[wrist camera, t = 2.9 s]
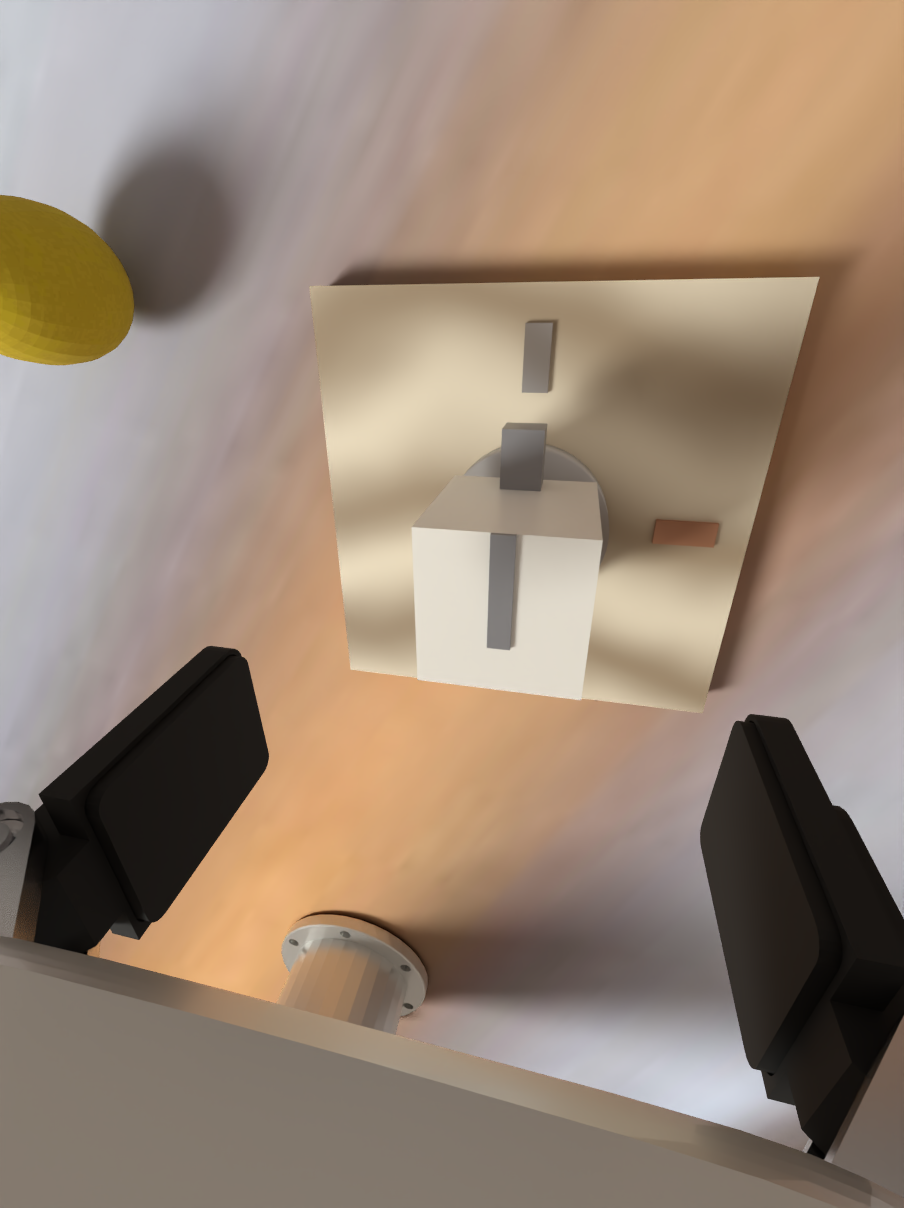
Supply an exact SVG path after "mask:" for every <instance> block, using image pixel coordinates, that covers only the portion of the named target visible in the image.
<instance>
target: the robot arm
mask: <svg viewBox="0 0 904 1208" xmlns="http://www.w3.org/2000/svg"><path fill="white" fill-rule="evenodd" d="M268 760H269V753H268V748H267V744H266V740H265V735H264V731H263V727H262V722H261V718H260V714H259V709H258V705H257V701H256V696H255V692H254V688H253V683H252V679H251V674H250V670H249V666H248V662H247V660H246V659H245V658H244V657H242V656H241V654H240V652H239V651H238V650H236V649H231V648H223V647H215V646H208V647H206V648H204V649H203V650H202V651H201V652H199V653H198V654H197V655H196V656H195V657H194V658H193V659H192V660H190V661H189V662H188V663H187V664H186V665H185V666H184V667H182V668H181V669H180V670H179V671H178V672H177V673H176V674H174V675H173V676H172V677H171V678H170V679H169V680H168V681H167V682H165V683H164V684H163V685H162V686H161V687H160V688H159V689H157V690H156V691H155V692H154V693H153V694H152V695H151V696H150V697H148V698H147V699H146V700H145V701H144V702H143V703H142V704H140V705H139V706H138V707H137V708H136V709H135V710H134V711H132V712H131V713H130V714H129V715H128V716H127V717H126V718H125V719H123V720H122V721H121V722H120V723H119V724H118V725H117V726H115V727H114V728H113V729H112V730H111V731H110V732H109V733H108V734H106V735H105V736H104V737H103V738H102V739H101V740H100V741H98V742H97V743H96V744H95V745H94V746H93V747H92V748H91V749H89V750H88V751H87V752H86V753H85V754H84V755H83V756H81V757H80V758H79V759H78V760H77V761H76V762H75V763H73V764H72V765H71V766H70V767H69V768H68V769H67V770H66V771H64V772H63V773H62V774H61V775H60V776H59V777H58V778H56V779H55V780H54V781H53V782H52V783H51V784H50V785H49V786H47V787H46V788H45V789H44V790H43V791H42V792H41V793H39V796H40V798H41V800H42V802H43V804H42V805H41V806H40V807H39V808H38V809H37V810H36V811H35V812H34V810H33V809H32V808H31V807H30V806H29V805H27V804H24V803H20V802H3V803H0V1208H904V919H903V917H902V915H901V913H900V911H899V909H898V907H897V905H896V903H895V901H894V900H893V898H892V896H891V894H890V892H889V890H888V888H887V886H886V884H885V882H884V880H883V878H882V877H881V875H880V873H879V871H878V869H877V867H876V865H875V863H874V861H873V859H872V857H871V856H870V854H869V852H868V850H867V848H866V846H865V844H864V842H863V840H862V838H861V836H860V834H859V833H858V831H857V829H856V827H855V825H854V823H853V821H852V819H851V818H850V816H849V815H848V814H847V812H846V811H845V810H844V809H842V808H841V807H840V806H833V805H832V803H831V801H830V799H829V797H828V795H827V793H826V791H825V789H824V787H823V785H822V783H821V781H820V779H819V777H818V775H817V773H816V771H815V769H814V767H813V765H812V763H811V761H810V759H809V757H808V755H807V753H806V751H805V749H804V747H803V745H802V743H801V741H800V739H799V737H798V735H797V733H796V731H795V729H794V727H793V725H792V724H791V722H790V721H789V720H788V719H786V718H778V717H771V716H763V715H755V714H750V715H748V717H747V718H746V720H745V722H743V721H736V722H735V723H734V725H733V728H732V731H731V734H730V737H729V740H728V743H727V747H726V750H725V753H724V756H723V759H722V762H721V765H720V769H719V772H718V775H717V778H716V781H715V784H714V787H713V791H712V794H711V797H710V800H709V803H708V806H707V809H706V813H705V816H704V819H703V822H702V826H701V832H700V842H701V849H702V854H703V858H704V863H705V868H706V872H707V877H708V882H709V886H710V891H711V896H712V900H713V905H714V910H715V914H716V919H717V924H718V928H719V933H720V938H721V942H722V947H723V952H724V956H725V961H726V966H727V970H728V975H729V980H730V984H731V989H732V994H733V998H734V1003H735V1008H736V1012H737V1017H738V1021H739V1026H740V1031H741V1035H742V1040H743V1045H744V1049H745V1053H746V1057H747V1060H748V1062H749V1065H750V1066H751V1067H752V1068H753V1069H756V1070H760V1071H761V1072H762V1076H763V1081H764V1085H765V1089H766V1094H767V1098H768V1099H772V1100H776V1101H779V1102H783V1103H787V1104H791V1105H795V1106H796V1110H797V1114H798V1118H799V1121H800V1125H801V1129H802V1130H803V1131H804V1132H805V1134H806V1135H807V1136H808V1137H809V1138H810V1139H809V1141H808V1142H807V1144H806V1146H805V1148H804V1150H803V1152H802V1151H799V1150H796V1149H793V1148H790V1147H787V1146H785V1145H782V1144H779V1143H776V1142H773V1141H770V1140H767V1139H764V1138H761V1137H758V1136H755V1135H752V1134H750V1133H747V1132H744V1131H741V1130H738V1129H734V1128H731V1127H727V1126H724V1125H720V1124H717V1123H713V1122H710V1121H706V1120H703V1119H700V1118H696V1117H693V1116H689V1115H686V1114H682V1113H679V1112H675V1111H672V1110H668V1109H665V1108H662V1107H658V1106H655V1105H651V1104H648V1103H644V1102H641V1101H637V1100H634V1099H630V1098H627V1097H623V1096H620V1095H617V1094H613V1093H610V1092H606V1091H602V1090H599V1089H595V1088H591V1087H587V1086H584V1085H580V1084H576V1083H573V1082H569V1081H565V1080H561V1079H558V1078H554V1077H550V1076H547V1075H543V1074H539V1073H535V1072H532V1071H528V1070H524V1069H521V1068H517V1067H513V1066H509V1065H506V1064H502V1063H498V1062H495V1061H491V1060H487V1059H483V1058H480V1057H476V1056H472V1055H469V1054H465V1053H461V1052H458V1051H454V1050H450V1049H446V1048H443V1047H439V1046H435V1045H432V1044H428V1043H424V1042H420V1041H416V1040H413V1039H409V1038H405V1037H401V1036H398V1035H395V1034H396V1030H397V1027H398V1023H399V1019H400V1016H404V1015H407V1014H409V1013H411V1012H413V1011H415V1010H416V1009H417V1008H418V1007H420V1006H421V1004H422V1002H423V1001H424V999H425V995H426V990H427V986H428V976H427V973H426V970H425V967H424V966H423V964H422V962H421V961H420V959H419V958H418V956H417V955H416V954H415V953H414V952H413V951H412V950H411V948H410V947H408V946H407V945H406V944H405V943H404V942H402V941H401V940H400V939H399V938H397V937H396V936H394V935H392V934H391V933H389V932H388V931H386V930H384V929H382V928H380V927H378V926H376V925H374V924H371V923H368V922H365V921H363V920H360V919H356V918H352V917H348V916H342V915H334V914H320V915H314V916H309V917H306V918H304V919H301V920H299V921H297V922H296V923H295V924H293V925H292V926H291V928H290V929H289V931H288V932H287V935H286V937H285V939H284V941H283V944H282V957H283V961H284V963H285V965H286V967H287V969H288V971H289V972H290V973H289V975H288V977H287V980H286V982H285V984H284V986H283V988H282V991H281V993H280V995H279V997H278V1000H277V1002H276V1003H272V1002H269V1001H265V1000H261V999H257V998H253V997H250V996H246V995H242V994H238V993H234V992H230V991H227V990H223V989H219V988H215V987H211V986H207V985H203V984H199V983H195V982H192V981H188V980H184V979H180V978H176V977H172V976H168V975H164V974H161V973H157V972H153V971H149V970H145V969H141V968H137V967H133V966H129V965H126V964H122V963H118V962H114V961H110V960H106V959H102V958H99V957H100V941H101V939H102V938H103V937H104V935H105V934H106V933H107V932H108V930H109V929H111V931H112V933H114V934H118V935H122V936H125V937H129V938H133V939H137V940H139V939H140V938H141V937H142V935H143V934H144V932H145V931H146V930H147V928H148V927H149V925H150V924H151V923H152V922H156V921H158V920H159V919H160V918H161V917H162V916H163V915H164V914H165V913H166V911H167V910H168V908H169V907H170V906H171V904H172V903H173V901H174V900H175V898H176V897H177V896H178V894H179V893H180V891H181V890H182V888H183V887H184V886H185V884H186V883H187V881H188V880H189V878H190V877H191V876H192V874H193V873H194V871H195V870H196V868H197V867H198V866H199V864H200V863H201V861H202V860H203V858H204V857H205V856H206V854H207V853H208V851H209V850H210V848H211V847H212V846H213V844H214V843H215V841H216V840H217V838H218V837H219V836H220V834H221V833H222V831H223V830H224V828H225V827H226V826H227V824H228V823H229V821H230V820H231V818H232V817H233V816H234V814H235V813H236V811H237V810H238V808H239V807H240V806H241V804H242V803H243V801H244V800H245V798H246V797H247V796H248V794H249V793H250V791H251V790H252V788H253V787H254V786H255V784H256V783H257V781H258V780H259V778H260V777H261V776H262V774H263V773H264V771H265V769H266V767H267V764H268Z"/></svg>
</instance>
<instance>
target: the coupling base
mask: <svg viewBox="0 0 904 1208" xmlns="http://www.w3.org/2000/svg"><path fill="white" fill-rule="evenodd" d="M818 281H819V277H783V278H728V279H674V280H619V281H565V282H511V283H456V284H402V285H347V286H309V288H310V297H311V306H312V316H313V325H314V334H315V343H316V353H317V362H318V371H319V380H320V390H321V399H322V408H323V417H324V427H325V436H326V445H327V454H328V464H329V473H330V482H331V492H332V501H333V510H334V519H335V529H336V538H337V547H338V556H339V566H340V575H341V584H342V593H343V603H344V612H345V621H346V630H347V640H348V649H349V658H350V667H351V670H358V671H366V672H374V673H382V674H391V675H399V676H407V677H415V678H417V655H416V630H415V604H414V579H413V553H412V528H411V527H412V526H413V525H414V523H415V522H416V521H417V520H418V519H419V518H420V516H421V515H422V514H423V513H424V512H425V510H426V509H427V508H428V507H429V506H430V505H431V503H432V502H433V501H434V500H435V499H436V497H437V496H438V495H439V494H440V493H441V492H442V490H443V489H444V488H445V487H446V486H447V484H448V483H449V482H450V481H451V480H452V479H453V477H454V476H455V475H459V476H479V477H499V478H500V467H501V442H502V428H503V427H504V426H505V424H506V423H507V422H511V423H544V424H547V437H546V450H545V463H544V476H543V480H558V481H578V482H597V489H598V499H599V508H600V518H601V528H602V538H603V543H602V550H601V557H600V565H599V572H598V580H597V587H596V594H595V602H594V609H593V617H592V624H591V631H590V639H589V646H588V654H587V661H586V668H585V676H584V683H583V691H582V698H584V699H592V700H600V701H608V702H616V703H624V704H632V705H640V706H648V707H656V708H664V709H672V710H680V711H688V712H697V713H703V709H704V705H705V702H706V698H707V694H708V690H709V687H710V683H711V679H712V676H713V672H714V668H715V664H716V661H717V657H718V653H719V649H720V646H721V642H722V638H723V635H724V631H725V627H726V623H727V620H728V616H729V612H730V609H731V605H732V601H733V597H734V594H735V590H736V586H737V582H738V579H739V575H740V571H741V568H742V564H743V560H744V556H745V553H746V549H747V545H748V541H749V538H750V534H751V530H752V527H753V523H754V519H755V515H756V512H757V508H758V504H759V501H760V497H761V493H762V489H763V486H764V482H765V478H766V474H767V471H768V467H769V463H770V460H771V456H772V452H773V448H774V445H775V441H776V437H777V434H778V430H779V426H780V422H781V419H782V415H783V411H784V407H785V404H786V400H787V396H788V393H789V389H790V385H791V381H792V378H793V374H794V370H795V366H796V363H797V359H798V355H799V352H800V348H801V344H802V340H803V337H804V333H805V329H806V326H807V322H808V318H809V314H810V311H811V307H812V303H813V299H814V296H815V292H816V288H817V285H818Z"/></svg>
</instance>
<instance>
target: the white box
mask: <svg viewBox="0 0 904 1208" xmlns="http://www.w3.org/2000/svg"><path fill="white" fill-rule="evenodd" d="M546 437H547V424H544V423H511V422H507V423H506V424H505V426H504V427H503V428H502V442H501V467H500V478H499V477H479V476H459V475H455V476H454V477H453V479H452V480H451V481H450V482H449V483H448V484H447V486H446V487H445V488H444V489H443V490H442V492H441V493H440V494H439V495H438V496H437V497H436V499H435V500H434V501H433V502H432V503H431V505H430V506H429V507H428V508H427V509H426V510H425V512H424V513H423V514H422V515H421V516H420V518H419V519H418V520H417V521H416V522H415V523H414V525H413V526H412V527H411V528H412V553H413V579H414V604H415V630H416V655H417V680H423V681H431V682H439V683H447V684H455V685H463V686H471V687H479V688H487V689H496V690H504V691H512V692H520V693H528V694H536V695H544V696H552V697H560V698H568V699H576V700H581V698H582V691H583V683H584V676H585V668H586V661H587V654H588V646H589V639H590V631H591V624H592V617H593V609H594V602H595V594H596V587H597V580H598V572H599V565H600V557H601V550H602V543H603V538H602V528H601V518H600V508H599V499H598V489H597V482H578V481H558V480H543V476H544V463H545V450H546Z"/></svg>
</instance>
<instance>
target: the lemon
mask: <svg viewBox="0 0 904 1208" xmlns="http://www.w3.org/2000/svg"><path fill="white" fill-rule="evenodd" d="M133 313H134V299H133V291H132V288H131V284H130V281H129V278H128V276H127V274H126V272H125V270H124V268H123V266H122V264H121V262H120V260H119V259H118V258H117V256H116V255H115V253H114V252H113V251H112V249H111V248H110V247H109V246H108V245H107V244H106V243H105V242H104V241H103V240H102V239H101V238H100V237H99V236H98V235H97V234H96V233H95V232H94V231H93V230H92V229H90V228H89V227H88V226H87V225H85V224H83V223H82V222H80V221H78V220H77V219H75V218H74V217H72V216H70V215H69V214H67V213H65V212H63V211H61V210H59V209H57V208H54V207H52V206H49V205H46V204H43V203H39V202H36V201H32V200H28V199H25V198H21V197H15V196H6V195H0V354H2V355H4V356H7V357H11V358H14V359H18V360H23V361H29V362H35V363H41V364H48V365H70V364H77V363H83V362H88V361H93V360H95V359H98V358H100V357H102V356H104V355H106V354H107V353H109V352H111V351H112V350H114V349H115V348H116V347H118V345H119V344H120V343H121V342H122V340H123V339H124V338H125V337H126V335H127V334H128V331H129V329H130V326H131V324H132V321H133Z"/></svg>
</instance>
